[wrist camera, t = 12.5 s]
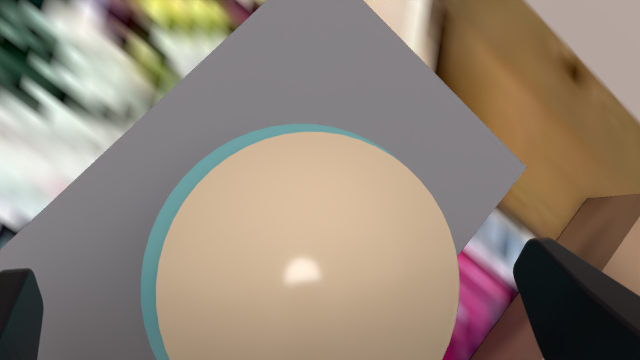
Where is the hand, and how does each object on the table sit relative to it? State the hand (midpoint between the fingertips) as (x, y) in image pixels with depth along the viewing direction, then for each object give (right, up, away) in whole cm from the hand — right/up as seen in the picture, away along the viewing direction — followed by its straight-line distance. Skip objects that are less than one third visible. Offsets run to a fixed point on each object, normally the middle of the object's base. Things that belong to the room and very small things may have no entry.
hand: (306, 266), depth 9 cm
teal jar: (-2, -1, +9) cm, 9 cm away
